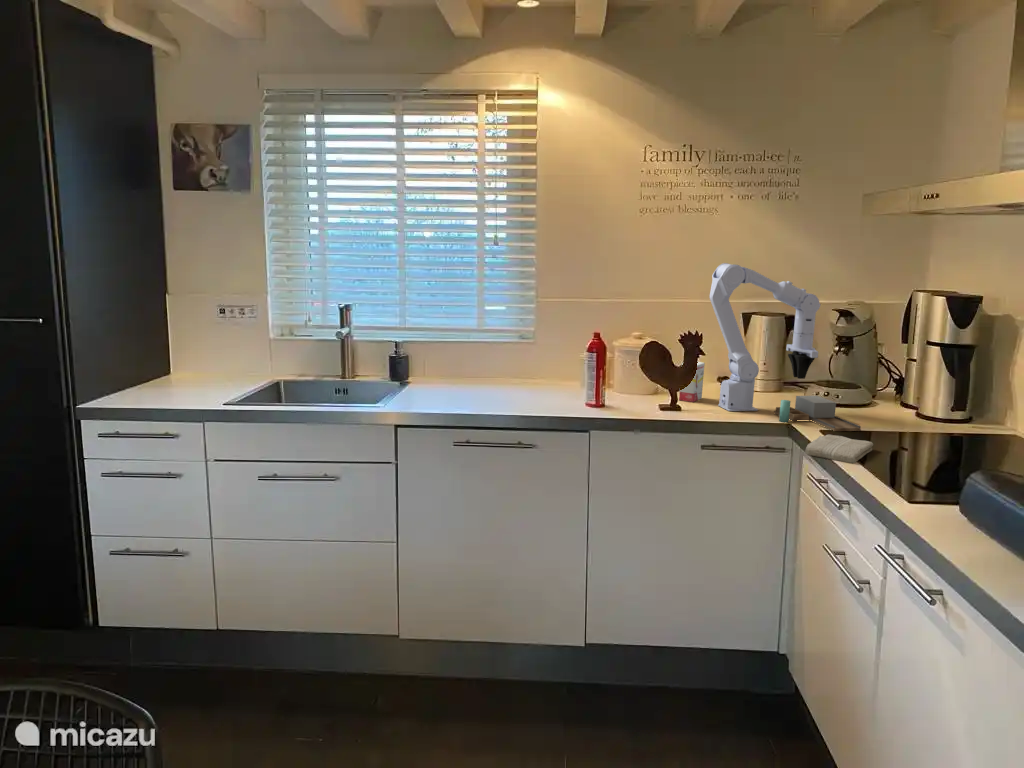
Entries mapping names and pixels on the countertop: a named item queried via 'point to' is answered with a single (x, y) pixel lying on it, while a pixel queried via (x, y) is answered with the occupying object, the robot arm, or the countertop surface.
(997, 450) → the countertop surface
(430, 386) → the countertop surface
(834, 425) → the plate
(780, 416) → the peg
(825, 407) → the grey rectangular block
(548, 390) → the countertop surface
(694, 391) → the ink box
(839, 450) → the washcloth
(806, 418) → the build board
